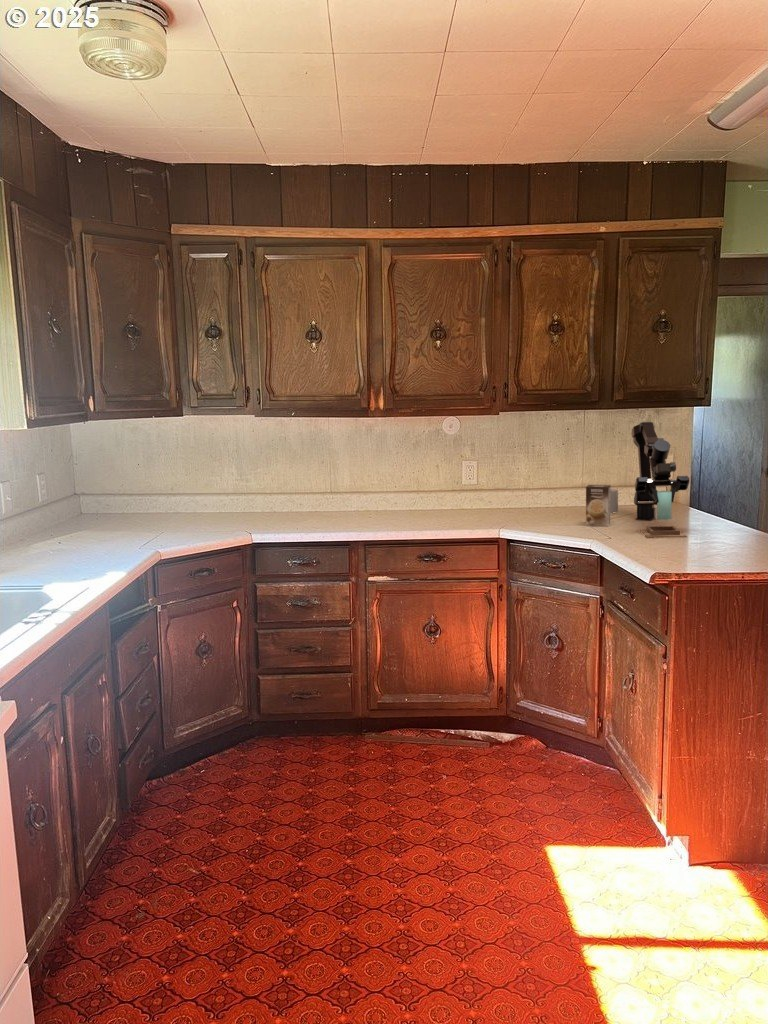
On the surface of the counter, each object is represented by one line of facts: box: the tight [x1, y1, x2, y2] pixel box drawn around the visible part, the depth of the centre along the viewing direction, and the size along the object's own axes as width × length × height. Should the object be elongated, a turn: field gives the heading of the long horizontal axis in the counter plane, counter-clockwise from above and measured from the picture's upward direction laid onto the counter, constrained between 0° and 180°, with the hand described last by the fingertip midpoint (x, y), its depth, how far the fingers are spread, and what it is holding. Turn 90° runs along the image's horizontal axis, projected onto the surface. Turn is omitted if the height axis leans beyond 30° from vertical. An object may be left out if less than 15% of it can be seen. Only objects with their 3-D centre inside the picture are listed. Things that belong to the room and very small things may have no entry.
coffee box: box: [585, 484, 612, 527], centre depth 309 cm, size 9×6×16 cm
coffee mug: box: [610, 488, 619, 513], centre depth 341 cm, size 13×10×10 cm
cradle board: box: [639, 525, 688, 539], centre depth 285 cm, size 14×14×2 cm
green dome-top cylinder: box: [656, 490, 673, 521], centre depth 284 cm, size 5×5×10 cm
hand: (665, 501), depth 282 cm, fingers closed on green dome-top cylinder, 5 cm apart
